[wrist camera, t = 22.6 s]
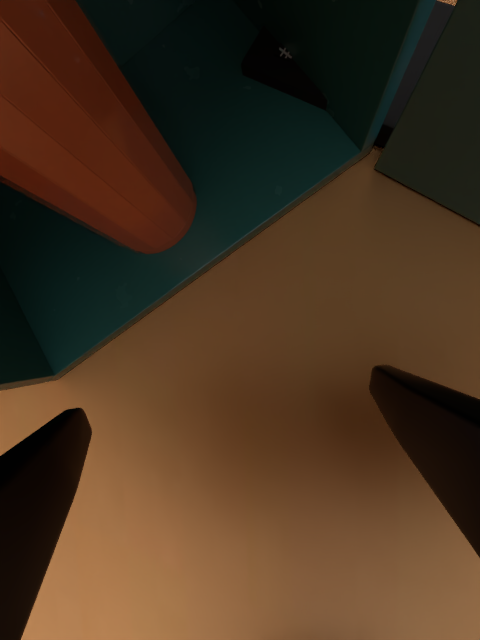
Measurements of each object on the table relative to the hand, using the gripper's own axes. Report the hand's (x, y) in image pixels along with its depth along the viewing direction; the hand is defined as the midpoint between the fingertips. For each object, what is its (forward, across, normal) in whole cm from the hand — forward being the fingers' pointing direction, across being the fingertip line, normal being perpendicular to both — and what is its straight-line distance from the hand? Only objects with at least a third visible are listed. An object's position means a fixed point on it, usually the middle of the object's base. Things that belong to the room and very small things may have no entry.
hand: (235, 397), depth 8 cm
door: (+5, -23, -2) cm, 24 cm away
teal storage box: (+17, +5, -8) cm, 19 cm away
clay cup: (+15, +4, -6) cm, 16 cm away
